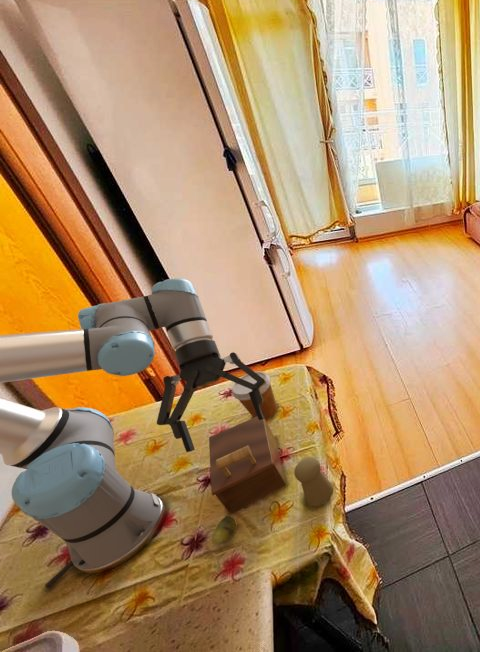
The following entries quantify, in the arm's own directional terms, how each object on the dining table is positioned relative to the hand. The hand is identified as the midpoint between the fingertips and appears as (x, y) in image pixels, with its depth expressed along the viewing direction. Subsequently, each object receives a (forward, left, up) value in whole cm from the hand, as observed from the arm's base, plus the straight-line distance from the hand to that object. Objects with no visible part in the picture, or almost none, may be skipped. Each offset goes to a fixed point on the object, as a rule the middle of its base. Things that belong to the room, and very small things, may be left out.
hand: (227, 434), depth 78 cm
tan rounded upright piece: (+12, -12, -17) cm, 24 cm away
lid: (0, +2, -8) cm, 8 cm away
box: (0, +2, -17) cm, 17 cm away
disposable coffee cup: (+5, +22, -17) cm, 28 cm away
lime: (-7, -10, -17) cm, 21 cm away
